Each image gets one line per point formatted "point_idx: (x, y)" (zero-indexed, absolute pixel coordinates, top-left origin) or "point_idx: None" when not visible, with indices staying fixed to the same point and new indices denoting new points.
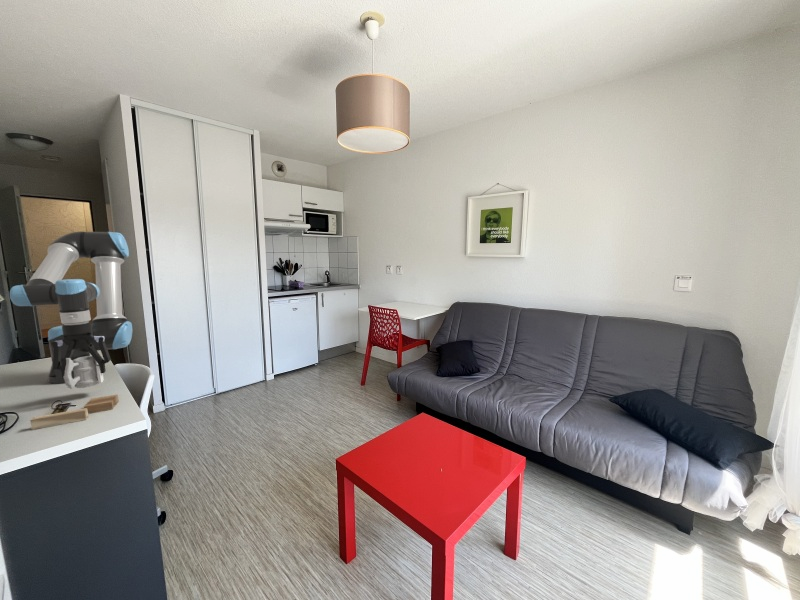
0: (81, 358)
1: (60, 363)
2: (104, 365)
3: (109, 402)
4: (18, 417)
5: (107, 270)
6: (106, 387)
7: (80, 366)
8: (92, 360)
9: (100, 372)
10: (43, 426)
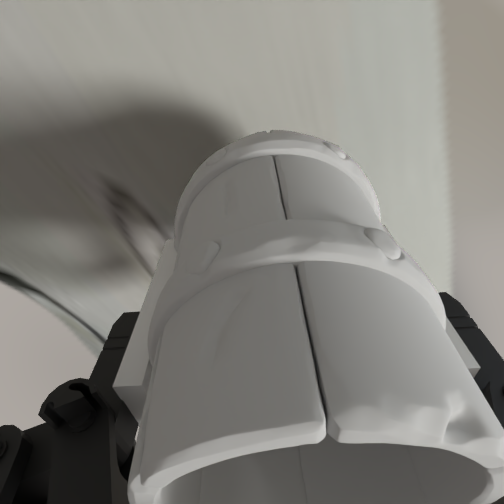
0: (209, 433)
1: (6, 496)
2: (495, 370)
3: None
4: (96, 333)
5: None
6: (337, 18)
7: (283, 454)
8: (425, 492)
9: None
10: None
